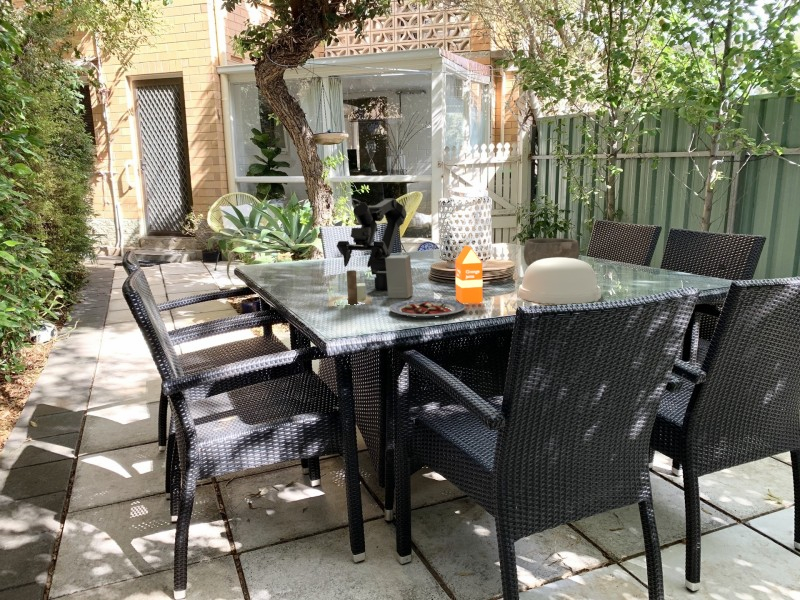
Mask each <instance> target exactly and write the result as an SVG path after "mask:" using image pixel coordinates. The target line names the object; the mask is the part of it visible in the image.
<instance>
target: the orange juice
mask: <svg viewBox="0 0 800 600" xmlns="http://www.w3.org/2000/svg"><path fill="white" fill-rule="evenodd" d="M483 281H484V280H483V262H482V261H481V259H480V258H479V256H478V255H477V253H476V252H475V251H474V249H473V248H472V247H471V246H468V245H466V244H465V245H464V246H463V248H462V249H461V251H460V253H459V255H458V256H457V258H456V259H455V300H456V299H457V300H458V301H459V302H461V303H477V304H481V303H480V302H482V303H483ZM457 300H456V301H457Z"/></svg>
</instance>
